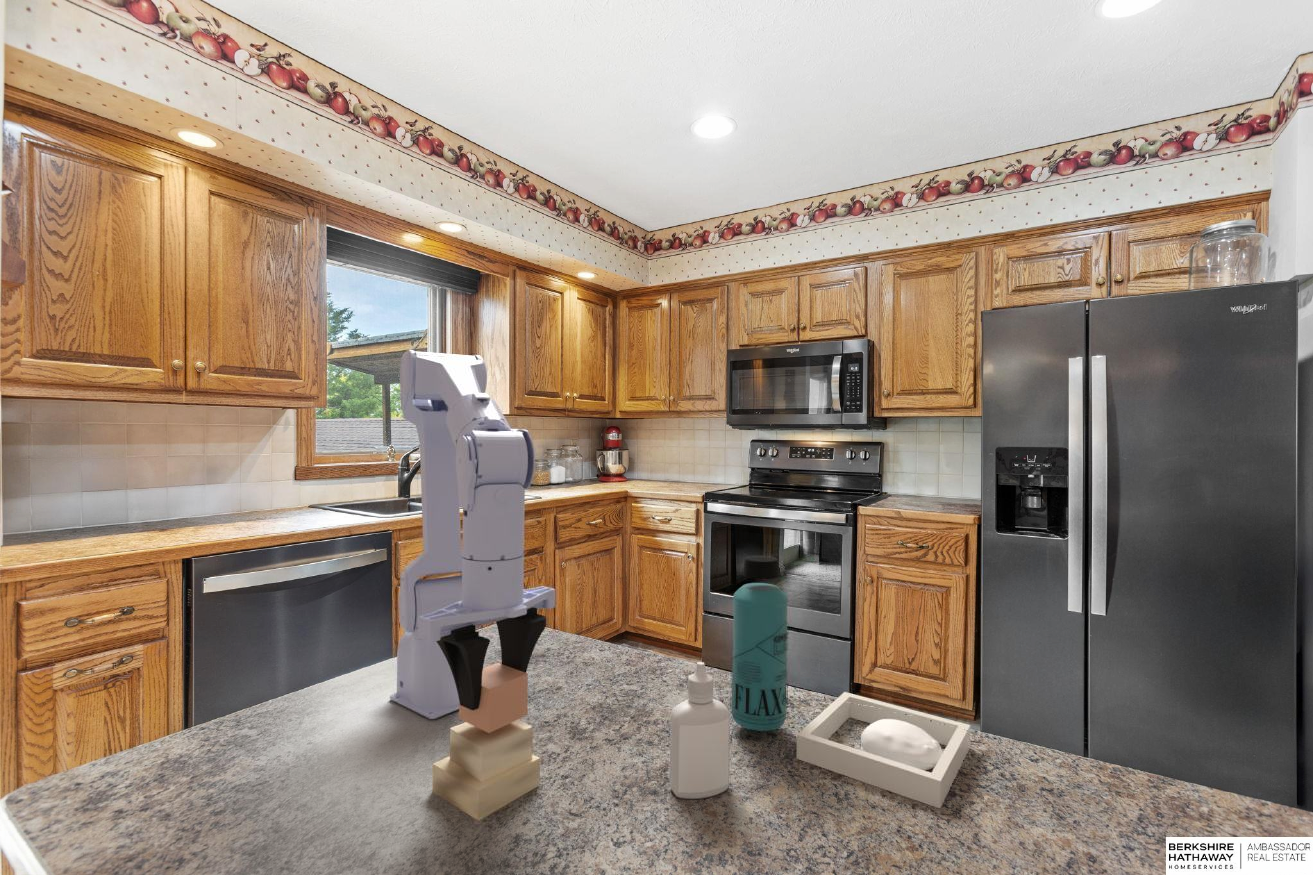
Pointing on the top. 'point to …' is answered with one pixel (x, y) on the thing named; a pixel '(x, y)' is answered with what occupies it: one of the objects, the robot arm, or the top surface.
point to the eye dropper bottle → (699, 741)
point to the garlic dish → (879, 769)
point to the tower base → (484, 786)
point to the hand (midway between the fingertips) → (491, 697)
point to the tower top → (490, 748)
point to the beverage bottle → (759, 649)
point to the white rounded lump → (901, 743)
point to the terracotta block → (499, 698)
